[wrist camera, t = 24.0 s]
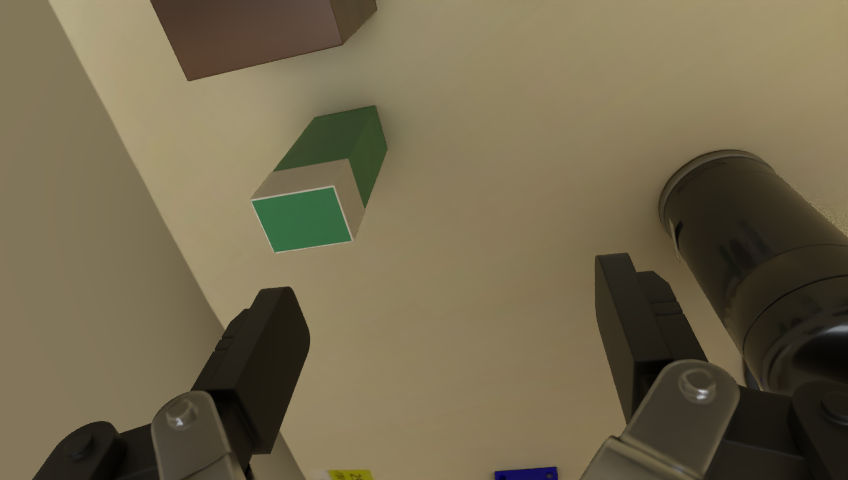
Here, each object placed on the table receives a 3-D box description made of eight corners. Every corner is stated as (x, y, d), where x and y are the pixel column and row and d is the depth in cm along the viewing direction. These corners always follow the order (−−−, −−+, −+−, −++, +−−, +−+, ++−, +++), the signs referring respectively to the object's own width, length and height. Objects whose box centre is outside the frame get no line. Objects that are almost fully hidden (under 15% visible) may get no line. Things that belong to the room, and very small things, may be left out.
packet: (385, 119, 46) (397, 267, 43) (326, 131, 47) (334, 276, 44) (325, 30, 33) (337, 231, 30) (246, 48, 34) (250, 244, 31)
